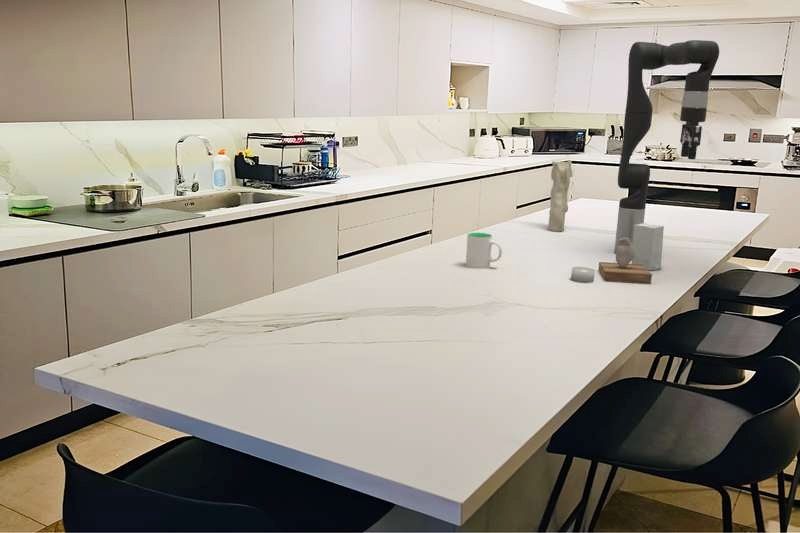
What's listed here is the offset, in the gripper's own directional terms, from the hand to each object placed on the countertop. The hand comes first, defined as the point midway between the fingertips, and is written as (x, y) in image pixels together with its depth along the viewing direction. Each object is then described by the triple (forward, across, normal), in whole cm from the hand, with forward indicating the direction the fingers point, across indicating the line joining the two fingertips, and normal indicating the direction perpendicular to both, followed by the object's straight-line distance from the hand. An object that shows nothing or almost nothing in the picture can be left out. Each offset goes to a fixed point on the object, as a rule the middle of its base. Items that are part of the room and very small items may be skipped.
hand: (687, 158), depth 236 cm
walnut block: (+38, +10, -18) cm, 43 cm away
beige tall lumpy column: (+38, -69, -32) cm, 85 cm away
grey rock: (+35, +9, -18) cm, 41 cm away
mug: (+38, +6, -63) cm, 74 cm away
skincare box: (+38, -6, -8) cm, 40 cm away
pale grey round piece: (+38, +17, -32) cm, 53 cm away
